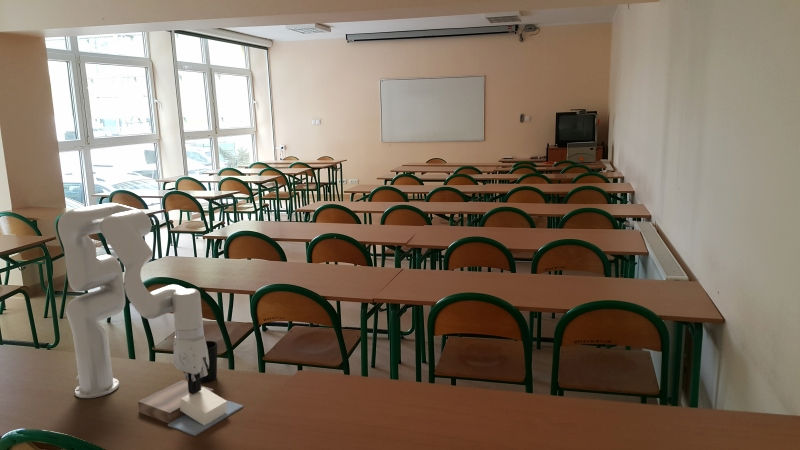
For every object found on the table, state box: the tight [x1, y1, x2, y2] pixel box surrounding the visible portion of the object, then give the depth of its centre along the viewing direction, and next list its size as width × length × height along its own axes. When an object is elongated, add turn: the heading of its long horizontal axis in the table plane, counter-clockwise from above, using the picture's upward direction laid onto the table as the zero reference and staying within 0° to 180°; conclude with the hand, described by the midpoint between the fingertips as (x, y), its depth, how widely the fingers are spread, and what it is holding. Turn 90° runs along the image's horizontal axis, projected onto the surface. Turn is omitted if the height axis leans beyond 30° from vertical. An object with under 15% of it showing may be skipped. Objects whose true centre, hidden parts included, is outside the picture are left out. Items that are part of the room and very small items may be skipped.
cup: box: [200, 340, 218, 384], centre depth 190 cm, size 8×8×12 cm
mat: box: [167, 399, 244, 437], centre depth 168 cm, size 11×18×1 cm, turn 150°
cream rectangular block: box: [180, 386, 228, 426], centre depth 167 cm, size 10×8×4 cm
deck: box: [137, 379, 215, 424], centre depth 173 cm, size 14×16×4 cm
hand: (195, 391), depth 168 cm, fingers closed
